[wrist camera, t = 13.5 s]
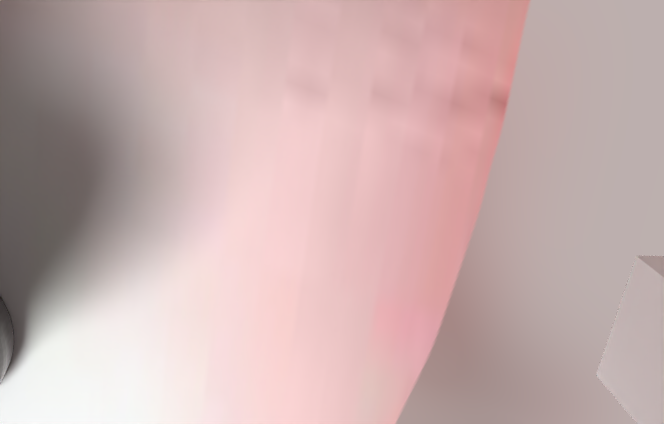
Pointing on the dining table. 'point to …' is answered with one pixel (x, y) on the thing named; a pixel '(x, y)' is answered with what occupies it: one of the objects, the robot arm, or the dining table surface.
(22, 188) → the dining table surface
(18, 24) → the dining table surface
